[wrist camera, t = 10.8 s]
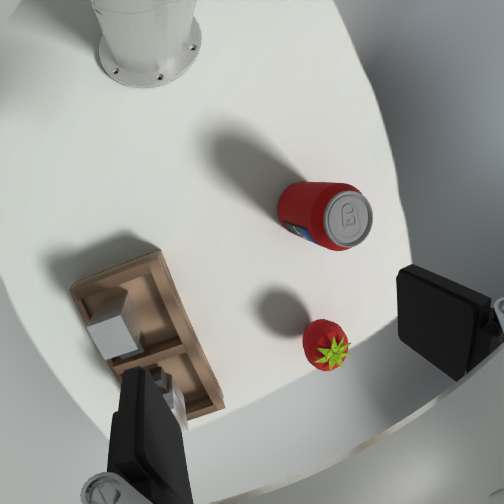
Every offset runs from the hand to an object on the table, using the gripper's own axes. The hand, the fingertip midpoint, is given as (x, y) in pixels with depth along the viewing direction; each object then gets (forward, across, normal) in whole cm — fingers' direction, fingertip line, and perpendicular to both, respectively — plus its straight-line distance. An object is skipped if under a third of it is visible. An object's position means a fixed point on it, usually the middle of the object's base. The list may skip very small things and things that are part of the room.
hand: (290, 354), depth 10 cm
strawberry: (+28, -10, +19) cm, 35 cm away
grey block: (+26, +12, +8) cm, 30 cm away
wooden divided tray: (+28, +11, +13) cm, 33 cm away
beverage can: (+29, -13, +2) cm, 31 cm away
